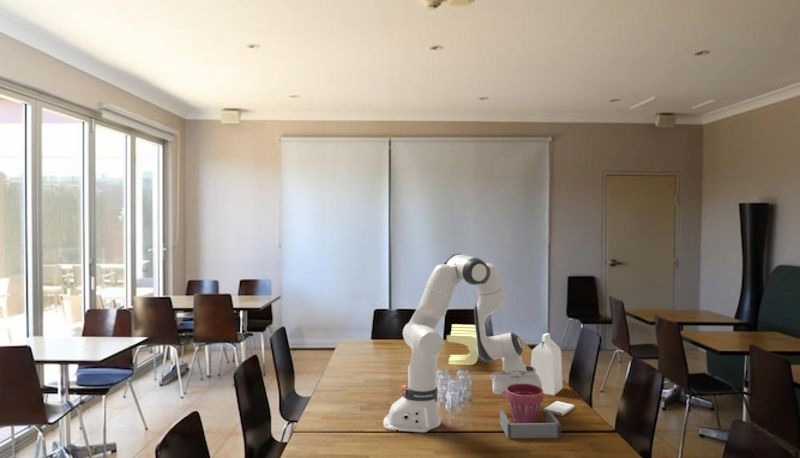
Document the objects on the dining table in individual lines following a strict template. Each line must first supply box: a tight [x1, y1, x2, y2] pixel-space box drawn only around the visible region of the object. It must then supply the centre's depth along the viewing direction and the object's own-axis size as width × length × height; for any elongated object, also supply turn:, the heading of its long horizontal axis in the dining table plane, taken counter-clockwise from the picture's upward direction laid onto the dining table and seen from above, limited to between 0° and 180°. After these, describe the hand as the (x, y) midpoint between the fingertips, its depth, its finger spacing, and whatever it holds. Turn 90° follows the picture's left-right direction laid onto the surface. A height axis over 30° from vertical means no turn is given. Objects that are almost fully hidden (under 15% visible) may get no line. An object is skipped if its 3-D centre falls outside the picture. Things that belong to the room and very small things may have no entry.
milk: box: [530, 332, 563, 396], centre depth 245 cm, size 12×12×26 cm
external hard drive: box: [543, 400, 575, 417], centre depth 220 cm, size 2×8×12 cm
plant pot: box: [505, 384, 544, 423], centre depth 207 cm, size 14×14×13 cm
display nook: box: [499, 410, 562, 439], centre depth 198 cm, size 19×14×5 cm
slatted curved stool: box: [446, 323, 479, 366], centre depth 295 cm, size 30×16×18 cm, turn 169°
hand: (519, 402), depth 213 cm, fingers closed, pressing on plant pot
